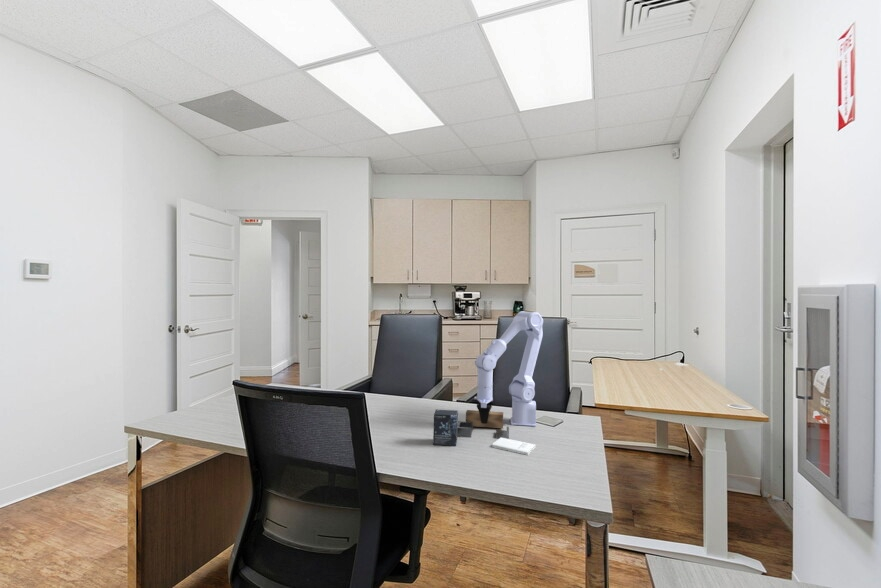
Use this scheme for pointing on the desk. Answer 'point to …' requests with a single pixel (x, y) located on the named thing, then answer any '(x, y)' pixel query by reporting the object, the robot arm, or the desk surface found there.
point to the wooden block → (493, 421)
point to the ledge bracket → (502, 433)
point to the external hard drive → (513, 446)
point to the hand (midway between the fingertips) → (484, 421)
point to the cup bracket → (464, 429)
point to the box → (445, 427)
